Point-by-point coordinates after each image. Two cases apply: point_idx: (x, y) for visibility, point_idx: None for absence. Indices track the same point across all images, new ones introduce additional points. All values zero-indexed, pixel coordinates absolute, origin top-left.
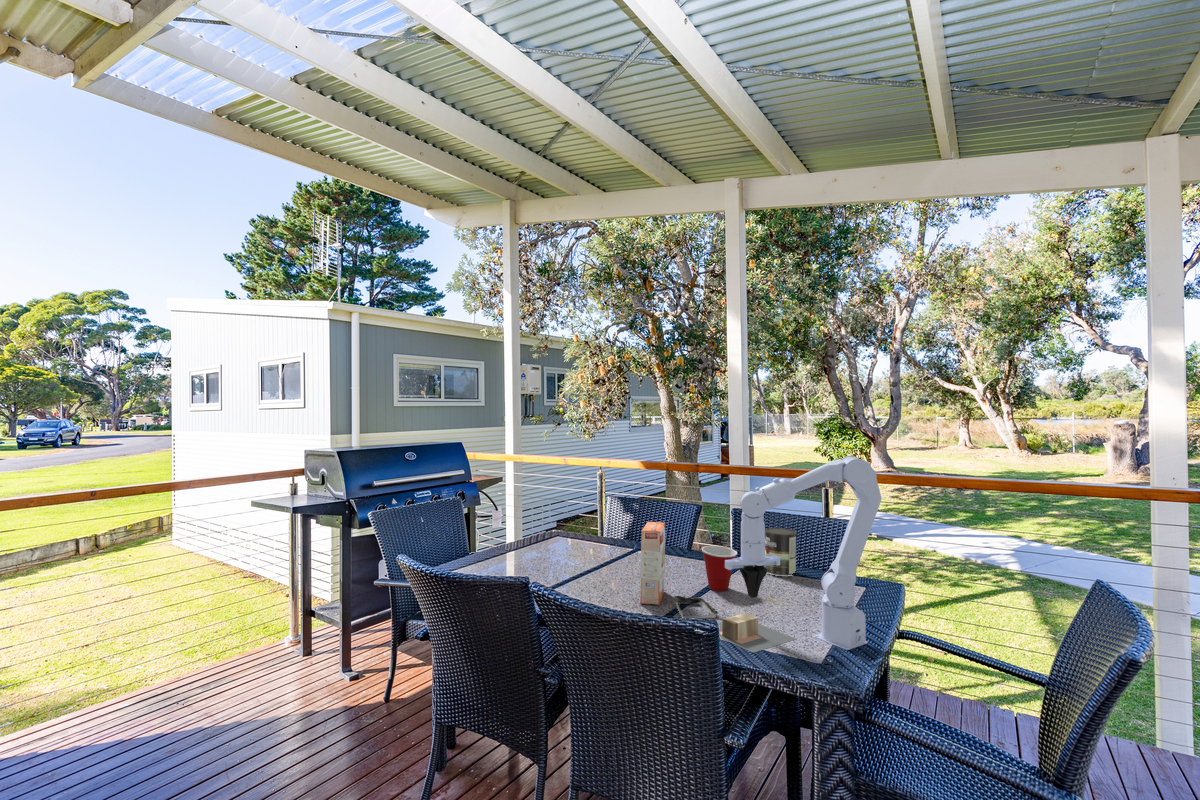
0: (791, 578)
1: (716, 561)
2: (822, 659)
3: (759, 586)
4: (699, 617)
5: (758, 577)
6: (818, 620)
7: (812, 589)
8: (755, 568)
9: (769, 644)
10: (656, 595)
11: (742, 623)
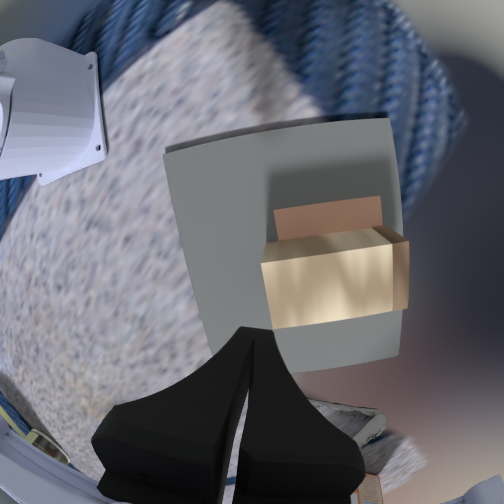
0: (38, 427)
1: None
2: (197, 16)
3: (217, 357)
4: (342, 407)
5: (224, 406)
6: (40, 266)
7: (17, 385)
8: (213, 499)
9: (290, 146)
10: (360, 486)
11: (361, 246)
